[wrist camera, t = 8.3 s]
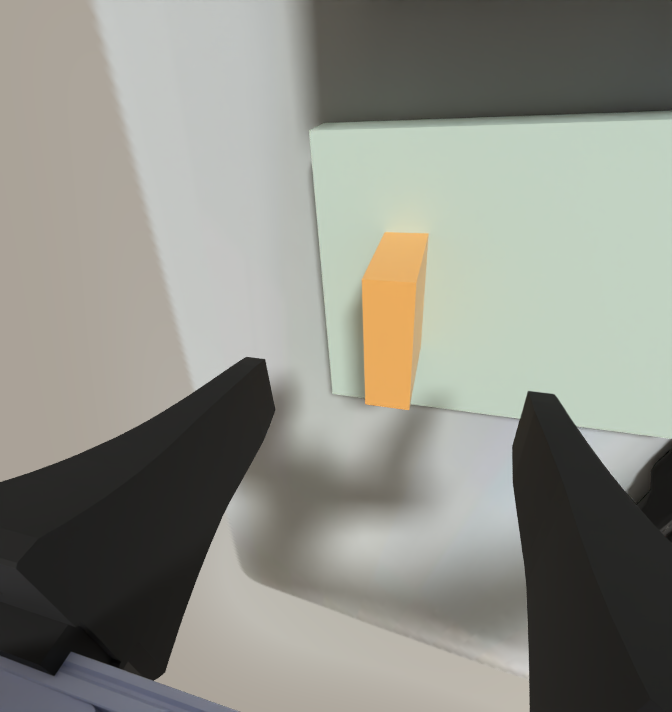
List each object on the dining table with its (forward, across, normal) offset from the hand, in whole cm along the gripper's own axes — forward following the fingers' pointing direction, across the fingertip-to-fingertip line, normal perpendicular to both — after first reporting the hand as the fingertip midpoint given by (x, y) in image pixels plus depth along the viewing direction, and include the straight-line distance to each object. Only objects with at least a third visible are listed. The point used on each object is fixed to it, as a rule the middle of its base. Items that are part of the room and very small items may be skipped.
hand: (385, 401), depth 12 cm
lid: (+8, -4, 0) cm, 9 cm away
